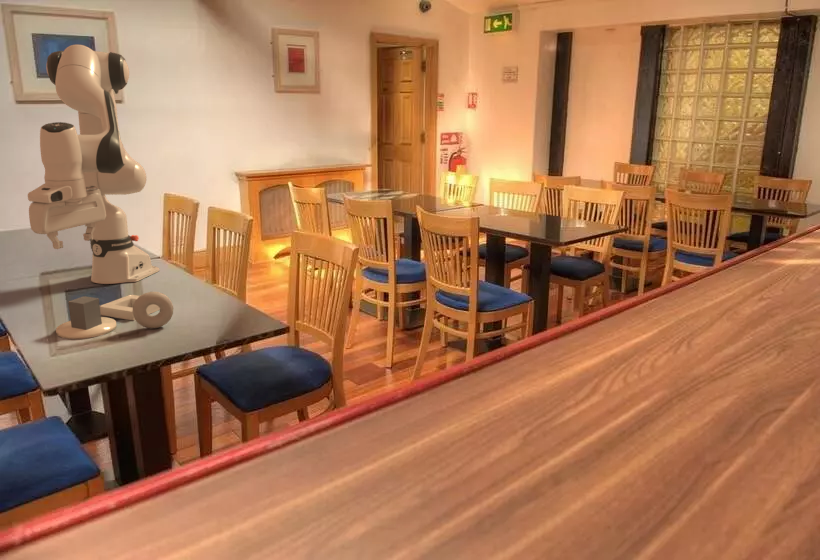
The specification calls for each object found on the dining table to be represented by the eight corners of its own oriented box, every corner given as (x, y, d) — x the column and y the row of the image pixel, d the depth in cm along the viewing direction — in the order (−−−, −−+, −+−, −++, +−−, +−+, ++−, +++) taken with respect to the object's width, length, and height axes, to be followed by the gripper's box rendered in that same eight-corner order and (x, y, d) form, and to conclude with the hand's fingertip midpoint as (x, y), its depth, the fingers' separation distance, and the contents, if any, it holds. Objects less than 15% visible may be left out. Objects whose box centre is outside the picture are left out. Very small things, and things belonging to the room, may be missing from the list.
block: (87, 321, 168) (84, 296, 166) (101, 323, 167) (98, 298, 165) (71, 327, 164) (68, 301, 162) (86, 330, 162) (83, 303, 160)
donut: (134, 332, 164) (130, 295, 161) (134, 328, 167) (130, 291, 164) (175, 327, 168) (172, 291, 165) (174, 323, 171) (171, 288, 168)
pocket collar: (131, 302, 187) (130, 294, 187) (164, 307, 183) (163, 299, 183) (99, 314, 176) (98, 306, 176) (133, 320, 172) (132, 311, 172)
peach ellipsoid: (88, 317, 174) (87, 314, 174) (128, 324, 169) (128, 320, 169) (43, 334, 161) (43, 330, 161) (85, 342, 157) (85, 338, 157)
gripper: (89, 183, 168) (96, 234, 173) (20, 195, 150) (30, 251, 154) (108, 185, 166) (114, 236, 170) (41, 197, 148) (49, 254, 152)
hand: (74, 244), depth 162 cm, fingers open, 8 cm apart
